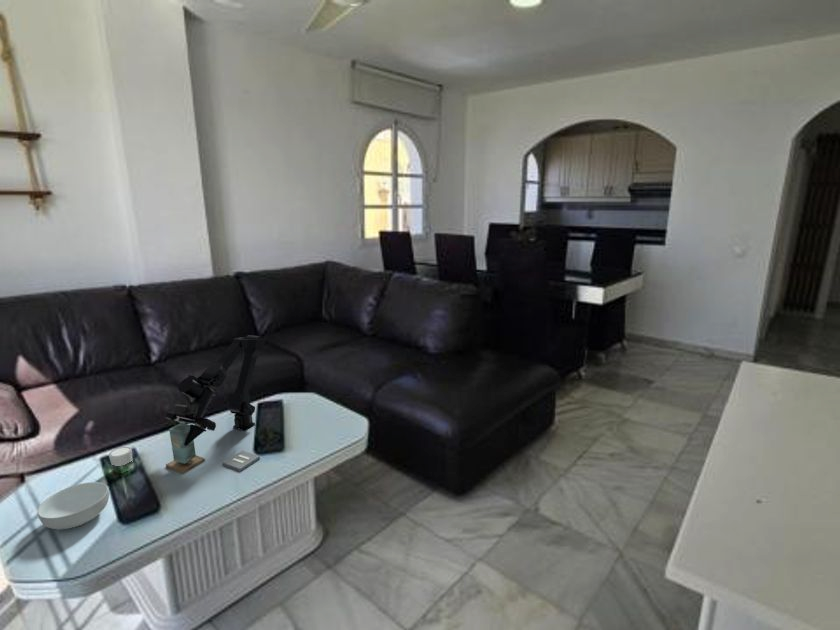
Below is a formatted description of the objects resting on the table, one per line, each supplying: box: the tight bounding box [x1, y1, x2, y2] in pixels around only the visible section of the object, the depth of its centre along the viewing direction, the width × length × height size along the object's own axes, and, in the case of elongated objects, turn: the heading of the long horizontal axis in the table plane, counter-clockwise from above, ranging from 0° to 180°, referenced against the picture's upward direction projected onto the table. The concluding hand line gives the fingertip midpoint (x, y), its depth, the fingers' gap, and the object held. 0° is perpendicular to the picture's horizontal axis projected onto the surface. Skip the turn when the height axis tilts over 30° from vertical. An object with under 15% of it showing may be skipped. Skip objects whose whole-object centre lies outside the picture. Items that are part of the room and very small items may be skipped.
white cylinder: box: [108, 446, 133, 466], centre depth 161 cm, size 7×7×7 cm
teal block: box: [168, 423, 197, 464], centre depth 163 cm, size 5×5×12 cm
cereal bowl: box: [37, 481, 110, 530], centre depth 136 cm, size 17×17×7 cm
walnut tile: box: [165, 454, 206, 474], centre depth 165 cm, size 9×9×1 cm
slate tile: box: [222, 450, 261, 472], centre depth 167 cm, size 9×9×1 cm
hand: (179, 444), depth 162 cm, fingers closed on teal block, 5 cm apart
